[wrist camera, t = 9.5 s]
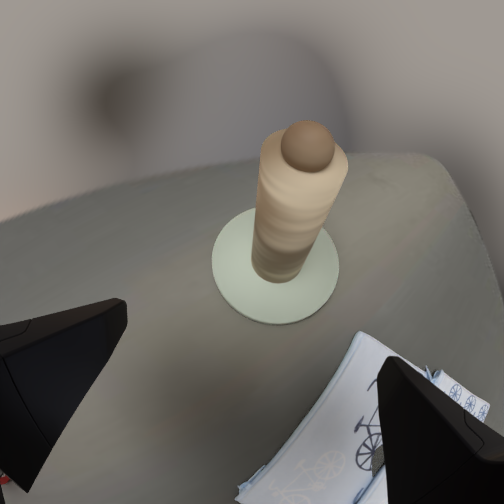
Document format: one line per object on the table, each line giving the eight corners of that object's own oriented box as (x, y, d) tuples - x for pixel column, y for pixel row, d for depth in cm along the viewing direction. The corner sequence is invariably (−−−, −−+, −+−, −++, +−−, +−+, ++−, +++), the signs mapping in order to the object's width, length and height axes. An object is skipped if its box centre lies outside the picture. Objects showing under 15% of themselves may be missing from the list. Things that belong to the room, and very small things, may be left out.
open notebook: (391, 551, 11) (400, 558, 9) (227, 491, 16) (225, 500, 14) (484, 405, 18) (496, 404, 17) (357, 317, 23) (367, 311, 21)
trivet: (355, 253, 25) (358, 249, 25) (291, 351, 21) (293, 350, 20) (261, 193, 28) (262, 187, 27) (187, 273, 24) (185, 268, 23)
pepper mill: (312, 268, 24) (378, 146, 11) (267, 292, 22) (302, 173, 10) (284, 228, 25) (319, 94, 13) (241, 249, 24) (245, 111, 12)
